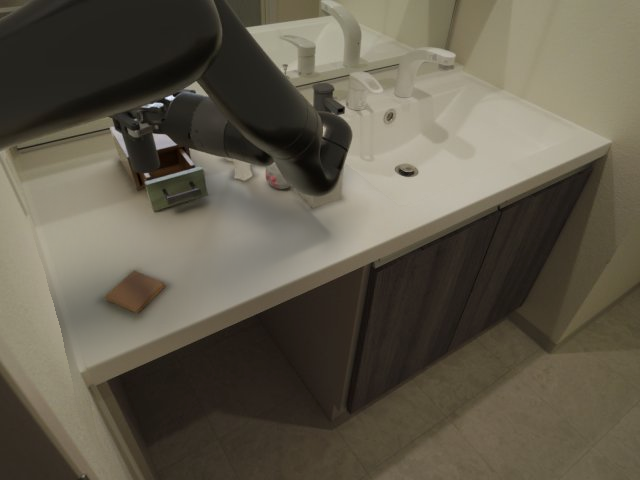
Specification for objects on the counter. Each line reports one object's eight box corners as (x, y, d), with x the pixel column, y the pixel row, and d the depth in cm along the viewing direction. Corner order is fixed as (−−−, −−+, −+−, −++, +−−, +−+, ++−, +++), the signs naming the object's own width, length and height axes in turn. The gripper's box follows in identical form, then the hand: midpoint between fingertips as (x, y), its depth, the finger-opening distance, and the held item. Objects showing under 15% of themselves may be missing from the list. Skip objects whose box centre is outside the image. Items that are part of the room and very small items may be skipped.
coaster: (137, 314, 60) (136, 310, 59) (106, 299, 62) (104, 296, 61) (165, 286, 64) (164, 282, 64) (135, 273, 66) (133, 270, 65)
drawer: (216, 205, 78) (211, 179, 74) (160, 223, 74) (153, 197, 70) (185, 164, 88) (180, 139, 84) (134, 178, 84) (127, 152, 80)
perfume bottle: (258, 171, 89) (253, 104, 79) (248, 182, 86) (242, 113, 76) (238, 167, 90) (231, 100, 80) (228, 177, 87) (220, 109, 77)
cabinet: (194, 174, 87) (188, 142, 82) (137, 190, 82) (127, 157, 77) (172, 146, 95) (165, 115, 90) (120, 159, 90) (109, 127, 85)
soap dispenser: (318, 215, 79) (324, 103, 64) (296, 191, 84) (296, 82, 70) (347, 205, 81) (358, 95, 67) (323, 182, 87) (329, 76, 72)
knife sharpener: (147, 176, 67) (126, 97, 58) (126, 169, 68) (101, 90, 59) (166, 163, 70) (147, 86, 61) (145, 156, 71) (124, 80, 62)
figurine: (257, 186, 85) (255, 152, 79) (281, 173, 89) (281, 139, 84) (280, 200, 82) (279, 164, 76) (304, 185, 86) (305, 151, 80)
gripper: (235, 81, 60) (141, 60, 65) (171, 121, 50) (66, 93, 55) (240, 129, 65) (152, 106, 70) (182, 173, 55) (85, 144, 60)
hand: (115, 100), depth 62 cm, fingers closed on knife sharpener, 4 cm apart
